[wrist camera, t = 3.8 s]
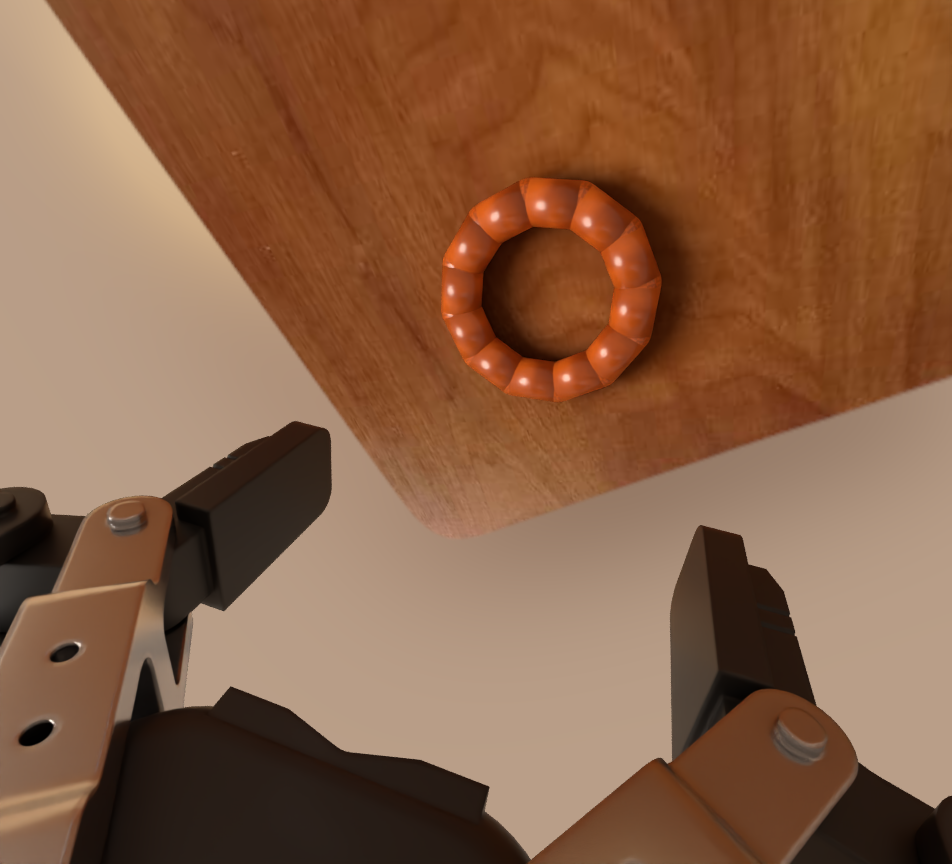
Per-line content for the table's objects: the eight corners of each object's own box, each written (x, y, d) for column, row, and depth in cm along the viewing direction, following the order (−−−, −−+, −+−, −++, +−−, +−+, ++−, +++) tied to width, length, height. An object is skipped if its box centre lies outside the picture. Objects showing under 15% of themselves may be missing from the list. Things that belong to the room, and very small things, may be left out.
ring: (680, 185, 21) (681, 187, 19) (636, 406, 25) (635, 421, 23) (452, 171, 23) (437, 171, 21) (447, 376, 27) (434, 388, 26)
